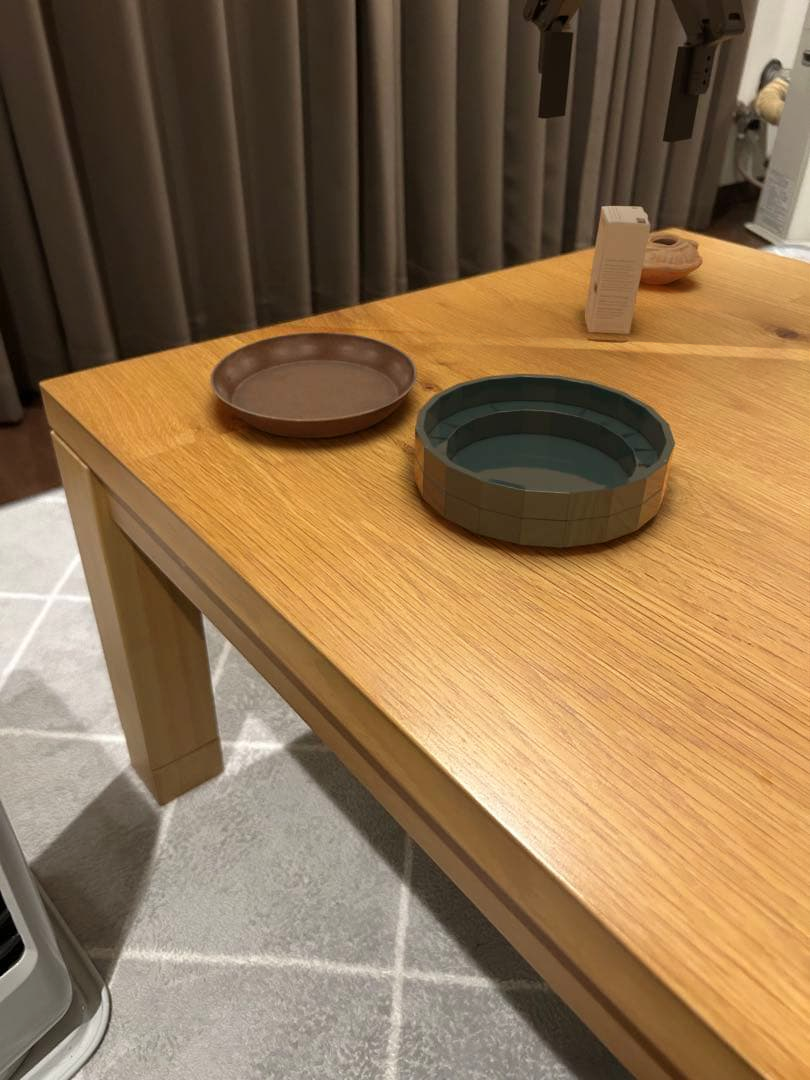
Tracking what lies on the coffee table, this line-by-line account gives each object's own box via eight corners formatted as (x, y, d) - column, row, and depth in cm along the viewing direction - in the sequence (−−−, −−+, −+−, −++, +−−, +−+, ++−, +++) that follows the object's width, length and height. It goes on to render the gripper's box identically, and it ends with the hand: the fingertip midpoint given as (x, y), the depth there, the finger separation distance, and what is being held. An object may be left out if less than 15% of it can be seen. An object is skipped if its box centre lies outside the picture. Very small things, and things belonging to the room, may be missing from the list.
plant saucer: (359, 469, 67) (358, 434, 65) (171, 423, 73) (166, 390, 71) (447, 383, 80) (448, 351, 78) (282, 350, 86) (280, 320, 84)
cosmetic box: (582, 321, 93) (597, 203, 86) (624, 323, 93) (643, 205, 86) (586, 343, 88) (603, 220, 81) (631, 345, 88) (652, 221, 81)
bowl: (644, 435, 72) (655, 379, 69) (679, 565, 57) (694, 500, 54) (425, 423, 73) (426, 368, 70) (403, 547, 58) (403, 483, 55)
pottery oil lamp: (580, 269, 106) (600, 212, 105) (665, 302, 109) (686, 246, 108) (606, 265, 98) (629, 202, 97) (698, 300, 101) (721, 239, 99)
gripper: (492, -190, 67) (477, 112, 79) (784, -229, 51) (709, 157, 63) (559, -182, 71) (535, 104, 83) (849, -216, 55) (767, 145, 67)
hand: (610, 128), depth 73 cm, fingers open, 13 cm apart
